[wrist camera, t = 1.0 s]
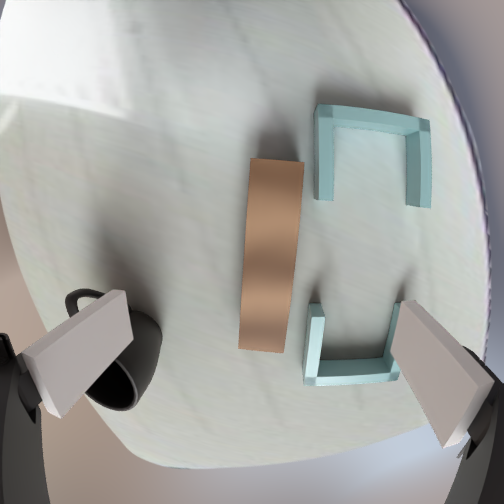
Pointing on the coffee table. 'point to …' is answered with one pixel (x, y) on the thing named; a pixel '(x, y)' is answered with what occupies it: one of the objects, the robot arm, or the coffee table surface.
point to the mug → (124, 359)
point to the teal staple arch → (375, 121)
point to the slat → (269, 252)
